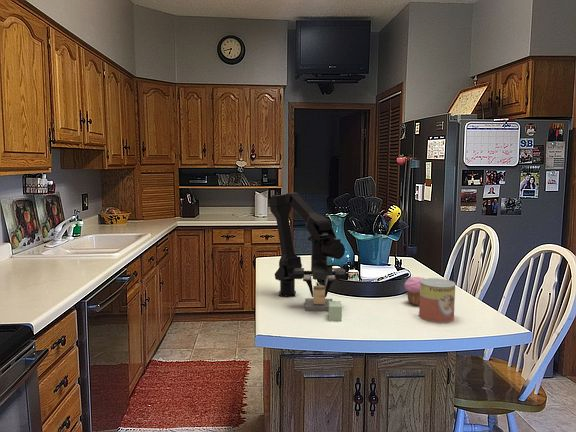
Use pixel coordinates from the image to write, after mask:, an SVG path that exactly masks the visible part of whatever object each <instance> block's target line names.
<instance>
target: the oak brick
mask: <svg viewBox="0 0 576 432" xmlns="http://www.w3.org/2000/svg"><path fill="white" fill-rule="evenodd" d="M312 288H313V297H312V298H313V304H325V299H326V297H325V288H326V286H325V285H312Z"/></svg>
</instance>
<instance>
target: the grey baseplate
mask: <svg viewBox="0 0 576 432" xmlns="http://www.w3.org/2000/svg"><path fill="white" fill-rule="evenodd" d="M329 301H334V300H333V298H325V304H313V297H311V298H310V297H309V298H307V297H306V298H304V304H305V305H304V311H306V312H329Z"/></svg>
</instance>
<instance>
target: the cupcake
mask: <svg viewBox="0 0 576 432" xmlns="http://www.w3.org/2000/svg"><path fill="white" fill-rule="evenodd" d="M422 279H426V278H424V277H420V276H412V277H409V278H408V279H407V280H406V281H405V282H404V289H405V290H406V294H407V301H408V303H410V304H412V305H414V306H419V305H420V281H421V280H422Z"/></svg>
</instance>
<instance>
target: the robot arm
mask: <svg viewBox="0 0 576 432" xmlns="http://www.w3.org/2000/svg"><path fill="white" fill-rule="evenodd" d="M268 205H269V209H270V212H271V214H272V215H273V216H274V218H275V219H276V220H275V221H276V226H277V233H278V240H279V245H280V251H281V256H280V257H279V260H278V269H277V270H276V272H274V279H275V280H277V281H279V284H280V285H279V286H280V287H279V292H278V297H296V295H297V291H296V290H295V289H296V288H295V287H296V286H295V285H296V283H295V280H302V281H303V282H305V283H306V285H307V286H308V288H309V293H310V295H311V298H313V281H312V280H316V281H317V280H322V281H324V280H325V298H327V296H328V293H329V290H330V288H331V285H332V284H333V282H336V280H338V281H339V280H343V281H345V280H347V272H346V269H344V268H341V267H340V268H338V267H337V268H336V267H334V268H333V265H332V264H328V258H331V259H335V260H340V259H342V258H343V257H344V255H345V253H346V248H345V245H344V244H343V243H342V242H341V241H342V240H341V239H340V238H337V236H336V233H335V232H334V229H333V227H332V224H331V222H330V219H329V220H328V219H327V218H326V217H325V216H323V215H320V214H319V213H317V212H315V211H314V209H312V208H311V206H309V204H308V203H307V202H306V201H305V200H304V199H303V198H302V197H301V195H300V194H299V193H298V192H288V193H287V192H286V193H285V194H276V195H275V194H274V195H271V197H270V198H269V200H268ZM292 209H293V210H294V211H295V212H296V213H297V215H298V216H299V217H300V218H301V219H302V220H303V221H304V222H305V228H306V230H307V232H308V233H309V234H310V236H309V237H308V238H307V241H309V242H311V244H310V246H311V249H310V250H311V256H310V257H311V258H310V260H311V261H310V264H311V265H310V270H305V267H303V264H302V258H301V256H300V255H299V256H298V255H297V254H296V253H295V248H294V243H293V237H292V236H293V235H292V229H291V224H290V223H291V222H290V217H289V216H290V213H291V211H292Z"/></svg>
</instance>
